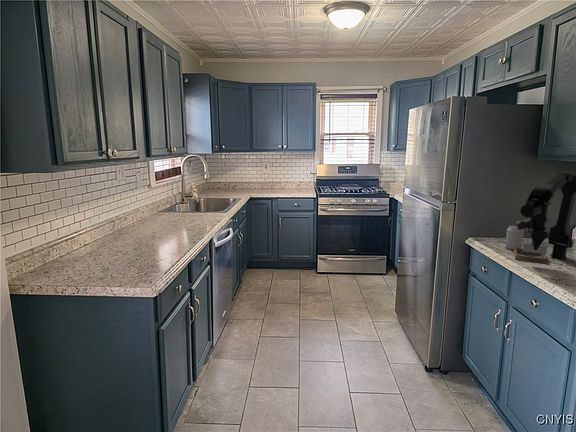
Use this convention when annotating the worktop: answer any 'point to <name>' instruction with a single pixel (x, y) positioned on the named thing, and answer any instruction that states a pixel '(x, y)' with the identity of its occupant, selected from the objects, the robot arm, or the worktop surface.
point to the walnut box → (526, 258)
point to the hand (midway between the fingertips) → (534, 248)
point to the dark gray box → (530, 248)
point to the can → (514, 238)
